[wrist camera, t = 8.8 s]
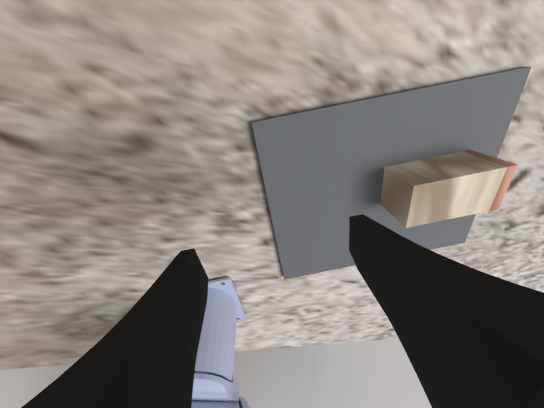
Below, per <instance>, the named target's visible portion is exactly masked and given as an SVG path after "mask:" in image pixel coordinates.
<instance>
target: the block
mask: <svg viewBox="0 0 544 408" xmlns="http://www.w3.org/2000/svg"><path fill="white" fill-rule="evenodd" d="M516 168H517V165H516V164H513V163H510V162H507V161H504V160H501V159H497V158H494V157H491V156H488V155H485V154H482V153H479V152H475V151H472V150H467V151H462V152H457V153H452V154H447V155H442V156H437V157H432V158H427V159H422V160H418V161H413V162H408V163H403V164H398V165H393V166H388V167H384V176H383V186H382V196H381V205H382V206H383V207H384V208H385V209H386V210H387V211H388V212H389V213H390V214H392V215H393V216H394V217H395V218H396V219H397V220H398V221H399V222H400V223H401V224H402V225H403V226H404V227H405V228H409V227H414V226H418V225H423V224H428V223H433V222H438V221H443V220H448V219H453V218H458V217H462V216H467V215H472V214H477V213H482V212H487V211H492V210H497V209H499V206H500V204H501V202H502V200H503V197H504V195H505V193H506V190H507V188H508V186H509V184H510V181H511V179H512V177H513V174H514V172H515V170H516Z"/></svg>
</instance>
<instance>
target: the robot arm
mask: <svg viewBox="0 0 544 408" xmlns="http://www.w3.org/2000/svg"><path fill="white" fill-rule="evenodd" d="M349 251H350V254H351V256H352V258H353V260H354V262H355V264H356V267H357V269H358V270H359V272H360V274H361V275H362V277H363V279H364V280H365V282H366V283H367V285H368V287H369V288H370V290H371V291H372V293H373V295H374V296H375V298H376V299H377V301H378V302H379V304H380V306H381V307H382V309H383V310H384V312H385V314H386V315H387V317H388V319H389V320H390V322H391V324H392V326H393V328H394V330H395V332H396V333H397V335H398V337H399V339H400V341H401V343H402V345H403V347H404V349H405V351H406V353H407V355H408V357H409V359H410V362H411V363H412V365H413V368H414V370H415V372H416V374H417V376H418V378H419V380H420V382H421V384H422V387H423V389H424V391H425V393H426V395H427V397H428V400H429V402H430V404H431V406H432V408H544V293H543V292H539V291H536V290H533V289H530V288H527V287H524V286H521V285H517V284H514V283H511V282H509V281H506V280H503V279H500V278H497V277H494V276H492V275H489V274H486V273H483V272H481V271H478V270H475V269H473V268H470V267H468V266H465V265H463V264H460V263H458V262H456V261H453V260H451V259H448V258H446V257H444V256H442V255H439V254H437V253H435V252H433V251H431V250H429V249H427V248H425V247H423V246H420V245H418V244H416V243H415V242H413V241H411V240H409V239H407V238H405V237H403V236H401V235H399V234H397V233H396V232H394V231H392V230H390V229H388V228H387V227H385V226H383V225H381V224H380V223H378V222H376V221H374V220H373V219H371V218H369V217H367V216H365V215H363V214H361V215H356V216H351V217H349ZM222 282H224V283H222ZM244 319H245V313H244V310H243V308H242V305H241V303H240V300H239V298H238V295H237V292H236V290H235V287H234V285H233V282H232V280H231V279H230V278H228V277H227V278H222V279H217V280H212V281H208V277H207V275H206V273H205V271H204V268H203V266H202V264H201V262H200V260H199V258H198V256H197V254H196V252H195V249H189V250H184V251H181V252H180V253H179V254H178V255H177V256H176V257H175V258H174V260H173V261H172V262H171V263H170V264H169V266H168V267H167V268H166V269H165V271H164V272H163V273H162V274H161V275H160V277H159V278H158V279H157V280H156V281H155V283H154V284H153V285H152V286H151V287H150V288H149V290H148V291H147V292H146V293H145V294H144V295H143V296H142V297H141V299H140V300H139V301H138V302H137V303H136V304H135V305H134V306H133V307H132V309H131V310H130V311H129V312H128V313H127V314H126V315H125V316H124V317H123V318H122V319H121V320H120V321H119V322H118V323H117V324H116V325H115V326H114V327H113V328H112V329H111V330H110V331H109V332H108V333H107V334H106V335H105V336H104V337H103V338H102V339H101V340H100V341H99V342H98V343H97V344H96V345H95V346H94V347H92V348H91V349H90V350H89V351H88V352H87V353H86V354H85V355H83V356H82V357H81V358H80V359H79V360H78V361H77V362H76V363H74V364H73V365H72V366H71V367H70V368H69V369H68V370H67V371H65V372H64V373H63V374H62V375H61V376H60V377H58V378H57V379H56V380H55V381H54V382H53V383H51V384H50V385H49V386H48V387H46V388H45V389H44V390H43V391H42V392H40V393H39V394H38V395H37V396H36V397H34V398H33V399H32V400H30V401H29V402H28V403H27V404H25V405H24V406H23V407H22V408H250V407H249V406H248V403H247V401H246V399H245V398H243V397H239V384H238V383H234V357H235V355H234V354H235V331H236V321H240V320H244Z"/></svg>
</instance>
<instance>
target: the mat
mask: <svg viewBox="0 0 544 408" xmlns="http://www.w3.org/2000/svg"><path fill="white" fill-rule="evenodd" d="M530 69H531V67H521V68H516V69H511V70H506V71H501V72H496V73H491V74H486V75H481V76H476V77H471V78H466V79H461V80H456V81H451V82H446V83H441V84H436V85H431V86H426V87H421V88H416V89H411V90H406V91H401V92H396V93H391V94H386V95H381V96H376V97H371V98H366V99H361V100H356V101H351V102H346V103H341V104H336V105H331V106H326V107H321V108H316V109H311V110H306V111H301V112H296V113H291V114H286V115H281V116H276V117H271V118H266V119H261V120H256V121H251V123H252V128H253V132H254V137H255V142H256V147H257V151H258V156H259V161H260V166H261V171H262V175H263V180H264V185H265V190H266V195H267V199H268V204H269V209H270V214H271V219H272V223H273V228H274V233H275V238H276V242H277V247H278V252H279V257H280V262H281V266H282V271H283V276H284V280H285V279H289V278H294V277H299V276H304V275H309V274H314V273H319V272H324V271H328V270H333V269H338V268H343V267H348V266H353V265H356V264H355V262H354V260H353V258H352V256H351V254H350V251H349V217H351V216H356V215H361V214H363V215H365V216H367V217H369V218H371V219H373V220H374V221H376V222H378V223H380V224H381V225H383V226H385V227H387V228H388V229H390V230H392V231H394V232H396V233H397V234H399V235H401V236H403V237H405V238H407V239H409V240H411V241H413V242H415V243H416V244H418V245H420V246H423V247H425V248H427V249H429V250H431V249H435V248H440V247H445V246H450V245H455V244H460V243H465V241H466V238H467V235H468V233H469V230H470V227H471V225H472V222H473V220H474V217H475V214H472V215H467V216H462V217H458V218H453V219H448V220H443V221H438V222H433V223H428V224H423V225H418V226H414V227H409V228H405V227H404V226H403V225H402V224H401V223H400V222H399V221H398V220H397V219H396V218H395V217H394V216H393V215H392V214H390V213H389V212H388V211H387V210H386V209H385V208H384V207H383V206H382V205H381V196H382V186H383V176H384V167H388V166H393V165H398V164H403V163H408V162H413V161H418V160H422V159H427V158H432V157H437V156H442V155H447V154H452V153H457V152H462V151H467V150H472V151H475V152H479V153H482V154H485V155H488V156H491V157H494V158H497V156H498V154H499V151H500V148H501V146H502V143H503V140H504V138H505V135H506V132H507V130H508V127H509V124H510V122H511V119H512V117H513V114H514V111H515V109H516V106H517V103H518V101H519V98H520V95H521V93H522V90H523V87H524V85H525V82H526V80H527V77H528V74H529V72H530Z"/></svg>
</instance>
